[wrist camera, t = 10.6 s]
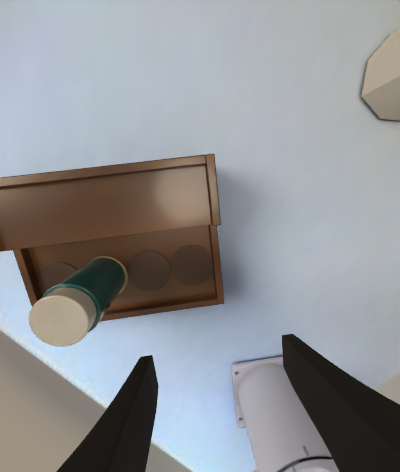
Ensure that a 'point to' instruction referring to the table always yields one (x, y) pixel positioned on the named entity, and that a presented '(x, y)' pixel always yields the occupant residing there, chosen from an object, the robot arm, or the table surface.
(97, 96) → the table surface
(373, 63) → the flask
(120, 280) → the cylinder
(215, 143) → the table surface
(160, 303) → the spice shelf
